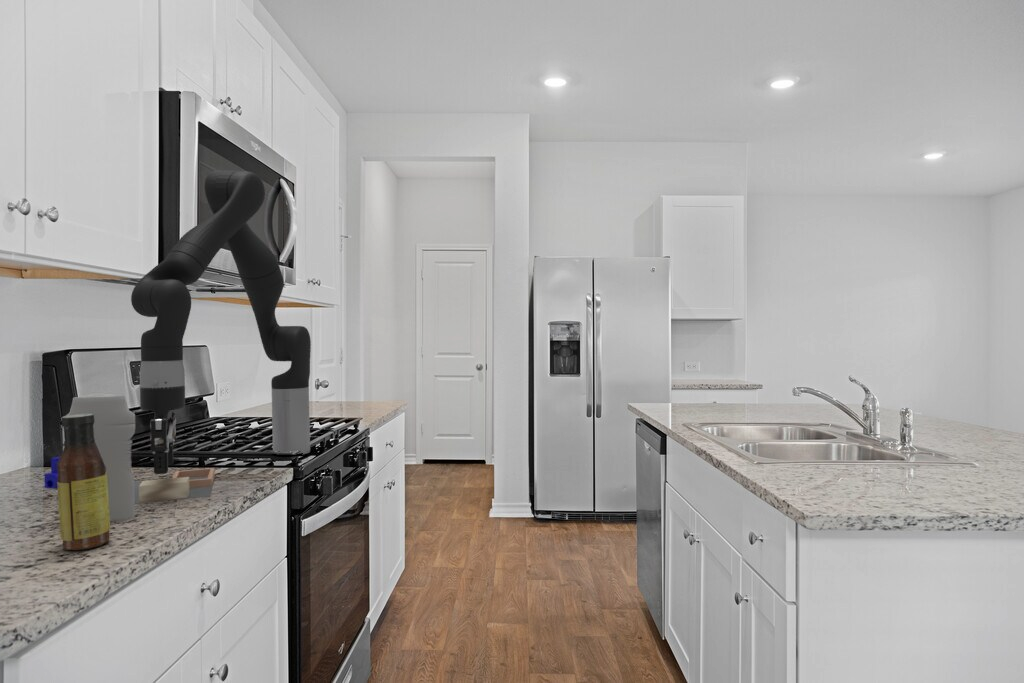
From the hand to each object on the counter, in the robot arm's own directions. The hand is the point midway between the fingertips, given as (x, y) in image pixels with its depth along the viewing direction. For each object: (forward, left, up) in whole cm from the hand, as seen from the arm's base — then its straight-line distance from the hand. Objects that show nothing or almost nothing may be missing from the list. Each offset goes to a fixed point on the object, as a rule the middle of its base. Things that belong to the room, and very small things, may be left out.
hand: (164, 469), depth 120 cm
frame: (-11, +4, -6) cm, 13 cm away
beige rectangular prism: (0, 0, -5) cm, 5 cm away
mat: (-7, 0, -6) cm, 9 cm away
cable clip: (-20, -18, -6) cm, 28 cm away
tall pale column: (+12, -8, -6) cm, 15 cm away
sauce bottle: (+24, -8, -6) cm, 26 cm away
